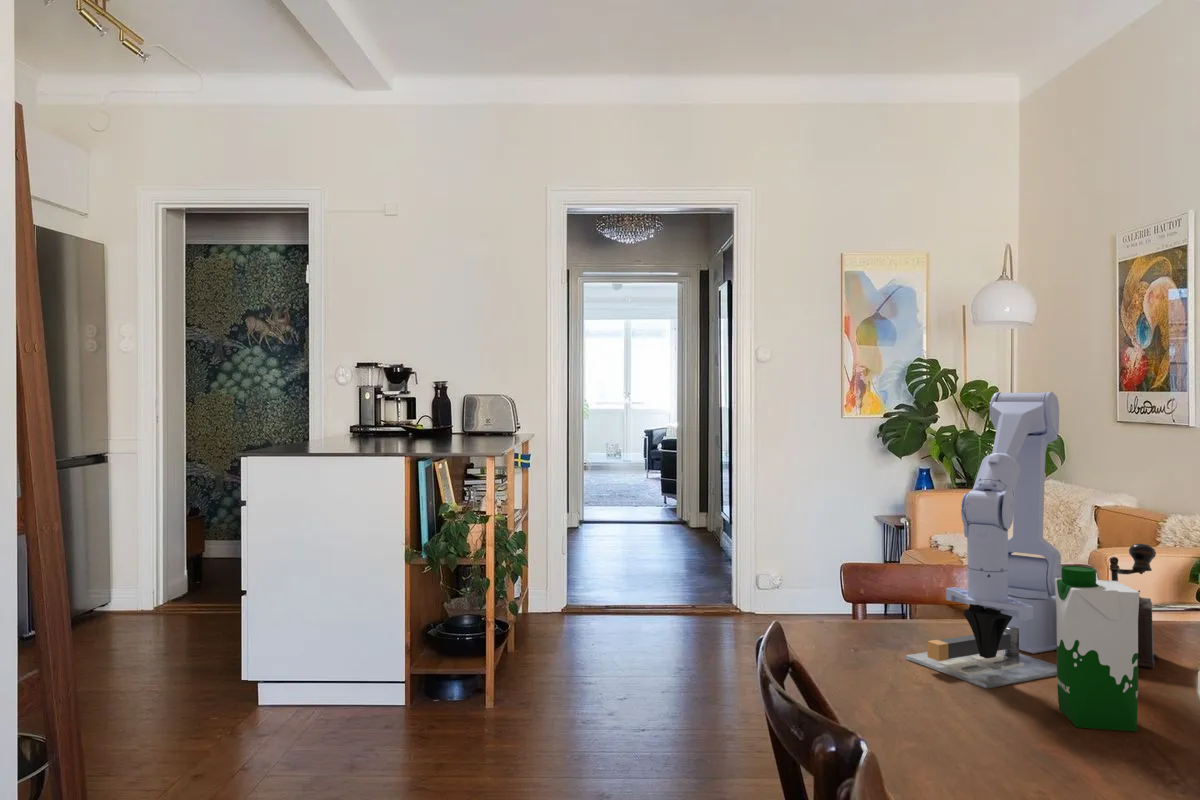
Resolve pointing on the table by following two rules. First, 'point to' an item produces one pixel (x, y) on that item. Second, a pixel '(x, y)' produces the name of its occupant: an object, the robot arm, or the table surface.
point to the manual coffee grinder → (1140, 602)
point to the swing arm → (959, 647)
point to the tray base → (992, 665)
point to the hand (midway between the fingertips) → (987, 656)
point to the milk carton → (1097, 650)
